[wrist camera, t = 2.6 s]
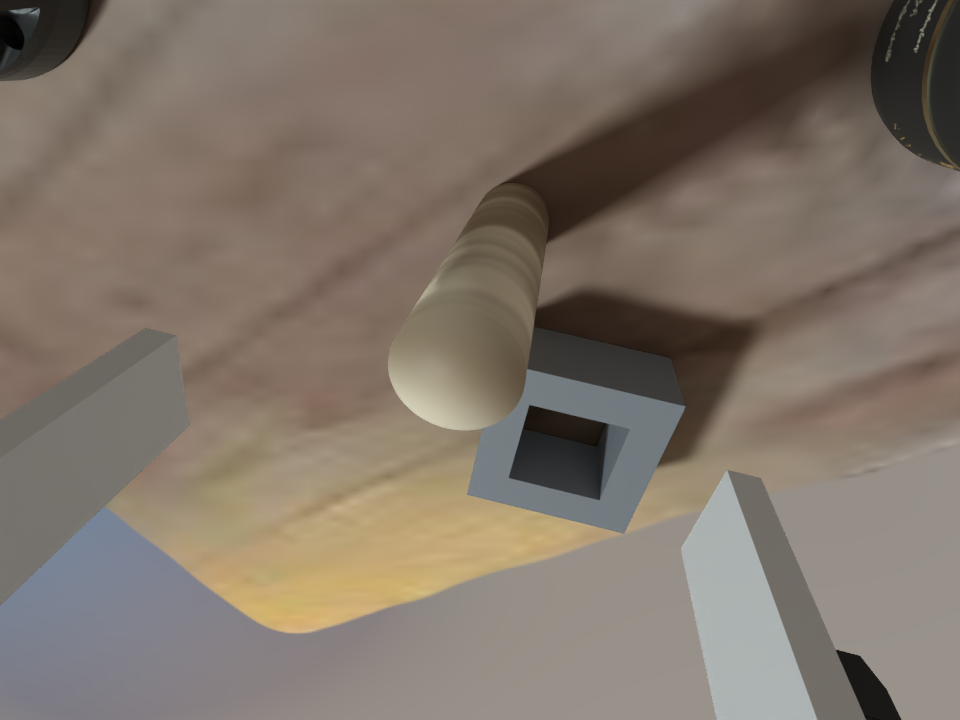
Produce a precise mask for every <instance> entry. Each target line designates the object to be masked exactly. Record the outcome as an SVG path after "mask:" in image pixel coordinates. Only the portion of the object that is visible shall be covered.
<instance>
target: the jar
mask: <svg viewBox="0 0 960 720" xmlns="http://www.w3.org/2000/svg"><path fill="white" fill-rule="evenodd" d="M871 86H872V94H873V99H874V102H875V106H876V108H877V111H878V113H879V115H880V117H881V119H882V121H883V122H884V124H885V125H886V127H887V128H888V129H889V131H890V132H891V133H892V135H893V136H894V137H895V138H896V139H897V140H898V141H899V142H900V143H901V144H902V145H903V146H904V147H905V148H907V149H908V150H909V151H911V152H912V153H914V154H916V155H917V156H919V157H921V158H923V159H925V160H927V161H930V162H932V163H935V164H938V165H941V166H944V167H947V168H951V169H954V170H957V171H960V0H895V1H894V2H893V4H892V6H891V8H890V10H889V12H888V14H887V16H886V18H885V20H884V22H883V25H882V27H881V30H880V32H879V35H878V38H877V41H876V45H875V49H874V54H873V59H872V67H871Z"/></svg>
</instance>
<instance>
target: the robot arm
mask: <svg viewBox="0 0 960 720" xmlns="http://www.w3.org/2000/svg"><path fill="white" fill-rule="evenodd" d="M89 2H90V0H0V81H13V80H24V79H29V78H34V77H37V76H40V75H42V74H44V73H46V72H48V71H50V70H52V69H53V68H55V67H56V66H57V65H58V64H60V63H61V62H62V61H63V60H64V59H65V58H66V57H67V56H68V54H69V53H70V52H71V50H72V49H73V48H74V46H75V44H76V42H77V41H78V39H79V37H80V34H81V32H82V30H83V27H84V24H85V21H86V17H87V13H88V8H89ZM189 425H190V424H189V417H188V411H187V404H186V398H185V391H184V384H183V378H182V371H181V364H180V358H179V351H178V344H177V338H176V335H172V334H168V333H164V332H160V331H156V330H152V329H147V328H145V329H143V330H142V331H140V332H139V333H137V334H136V335H134V336H132V337H131V338H129V339H128V340H126V341H124V342H123V343H121V344H120V345H118V346H116V347H115V348H113V349H112V350H110V351H109V352H107V353H105V354H104V355H102V356H101V357H99V358H97V359H96V360H94V361H93V362H91V363H89V364H88V365H86V366H85V367H83V368H82V369H80V370H78V371H77V372H75V373H74V374H72V375H70V376H69V377H67V378H66V379H64V380H62V381H61V382H59V383H58V384H56V385H55V386H53V387H51V388H50V389H48V390H47V391H45V392H43V393H42V394H40V395H39V396H37V397H36V398H34V399H32V400H31V401H29V402H28V403H26V404H24V405H23V406H21V407H20V408H18V409H16V410H15V411H13V412H12V413H10V414H9V415H7V416H5V417H4V418H2V419H1V420H0V605H1V604H2V603H3V602H4V601H5V600H6V599H8V598H9V597H10V596H11V595H12V594H13V593H14V592H15V591H16V590H17V589H18V588H19V587H20V586H21V585H22V584H23V583H24V582H25V581H26V580H28V579H29V578H30V577H31V576H32V575H33V574H34V573H35V572H36V571H37V570H38V569H39V568H40V567H41V566H42V565H43V564H44V563H45V562H46V561H47V560H48V559H50V558H51V557H52V556H53V555H54V554H55V553H56V552H57V551H58V550H59V549H60V548H61V547H62V546H63V545H64V544H65V543H66V542H67V541H68V540H70V539H71V538H72V536H74V535H75V534H76V533H77V532H78V531H79V530H80V529H81V528H82V527H83V526H84V525H85V524H86V523H87V522H88V521H89V520H91V519H92V518H93V517H94V516H95V515H96V514H97V513H98V512H99V511H100V510H101V509H102V508H103V507H104V506H105V505H106V504H107V503H108V502H109V501H111V500H112V499H113V498H114V497H115V496H116V495H117V494H118V493H119V492H120V491H121V490H122V489H123V488H124V487H125V486H126V485H127V484H128V483H129V482H131V481H132V480H133V479H134V478H135V477H136V476H137V475H138V474H139V473H140V472H141V471H142V470H143V469H144V468H145V467H146V466H147V465H148V464H149V463H150V462H152V461H153V460H154V459H155V458H156V457H157V456H158V455H159V454H160V453H161V452H162V451H163V450H164V449H165V448H166V447H167V446H168V445H169V444H170V443H171V442H173V441H174V440H175V439H176V438H177V437H178V436H179V435H180V434H181V433H182V432H183V431H184V430H185V429H186V428H187V427H188V426H189ZM681 552H682V556H683V562H684V566H685V571H686V576H687V580H688V585H689V590H690V595H691V599H692V604H693V609H694V613H695V619H696V623H697V628H698V633H699V638H700V643H701V647H702V652H703V657H704V661H705V666H706V671H707V676H708V681H709V685H710V690H711V695H712V700H713V704H714V709H715V714H716V719H717V720H901V718H900V716H899V714H898V712H897V710H896V708H895V706H894V704H893V702H892V700H891V697H890V695H889V693H888V691H887V689H886V688H885V687H884V686H883V684H882V683H881V682H880V681H879V679H878V678H877V677H876V676H875V674H874V673H873V672H872V671H871V669H870V668H869V667H868V666H867V664H866V663H865V662H864V660H863V659H862V658H861V657H860V656H858V655H854V654H850V653H846V652H843V651H839V650H835V648H834V645H833V643H832V641H831V638H830V636H829V634H828V631H827V629H826V627H825V625H824V622H823V620H822V618H821V615H820V613H819V611H818V608H817V606H816V604H815V601H814V599H813V597H812V595H811V592H810V590H809V588H808V585H807V583H806V581H805V578H804V576H803V574H802V572H801V569H800V567H799V565H798V562H797V560H796V558H795V556H794V553H793V551H792V549H791V546H790V544H789V542H788V539H787V537H786V535H785V532H784V530H783V528H782V526H781V523H780V521H779V519H778V516H777V514H776V512H775V509H774V507H773V505H772V503H771V500H770V498H769V496H768V493H767V491H766V489H765V486H764V484H763V482H762V480H761V478H758V477H754V476H750V475H746V474H742V473H738V472H733V471H729V470H727V471H726V473H725V474H724V476H723V478H722V479H721V481H720V483H719V485H718V486H717V488H716V490H715V491H714V493H713V495H712V497H711V498H710V500H709V502H708V503H707V505H706V507H705V509H704V510H703V512H702V514H701V516H700V517H699V519H698V521H697V522H696V524H695V526H694V527H693V529H692V531H691V533H690V534H689V536H688V538H687V540H686V541H685V543H684V545H683V546H682V548H681Z"/></svg>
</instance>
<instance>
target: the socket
mask: <svg viewBox="0 0 960 720" xmlns="http://www.w3.org/2000/svg"><path fill="white" fill-rule="evenodd" d="M529 405H532V406H536V407H540V408H544V409H549V410H553V411H557V412H561V413H565V414H570V415H574V416H578V417H582V418H586V419H591V420H595V421H599V422H603V423H606V424H605V427H604V429H603V432H602V434H601V437H600V439H599V442H598V445H597V446H593V445H588V444H584V443H580V442H576V441H572V440H568V439H563V438H559V437H555V436H551V435H547V434H543V433H539V432H534V431H530V430H526V429H523V425H524V422H525V418H526V415H527V411H528V408H529ZM685 407H686V405H685V402H684V399H683V396H682V393H681V389H680V386H679V383H678V380H677V377H676V373H675V370H674V367H673V364H672V361H671V358H668V357H663V356H659V355H655V354H651V353H646V352H642V351H638V350H633V349H629V348H625V347H620V346H616V345H612V344H607V343H603V342H599V341H595V340H590V339H586V338H582V337H577V336H573V335H569V334H564V333H560V332H556V331H552V330H547V329H543V328H539V327H534V328H533V334H532V341H531V348H530V354H529V361H528V368H527V374H526V381H525V387H524V391H523V394H522V397H521V399H520V401H519V403H518V405H517V406H516V407H515V409H514V410H513V411H512V412H511V413H510V414H509V415H508V416H507V417H505V418H504V419H503V420H501V421H499V422H498V423H496V424H494V425H491V426H488V427H485V428H482V433H481V437H480V441H479V446H478V450H477V454H476V459H475V463H474V467H473V472H472V476H471V480H470V485H469V489H468V493H467V495H470V496H475V497H479V498H483V499H487V500H491V501H495V502H499V503H503V504H507V505H511V506H515V507H519V508H523V509H527V510H531V511H535V512H539V513H543V514H547V515H551V516H555V517H559V518H563V519H567V520H571V521H576V522H580V523H584V524H588V525H592V526H596V527H600V528H604V529H608V530H612V531H616V532H620V533H625V531H626V529H627V527H628V525H629V522H630V520H631V518H632V516H633V514H634V512H635V510H636V508H637V506H638V504H639V502H640V500H641V498H642V496H643V494H644V492H645V490H646V488H647V485H648V483H649V481H650V479H651V477H652V475H653V473H654V471H655V469H656V467H657V465H658V463H659V461H660V459H661V457H662V455H663V453H664V451H665V448H666V446H667V444H668V442H669V440H670V438H671V436H672V434H673V432H674V430H675V428H676V426H677V424H678V422H679V420H680V418H681V416H682V414H683V411H684V409H685Z"/></svg>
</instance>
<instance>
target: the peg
mask: <svg viewBox="0 0 960 720" xmlns="http://www.w3.org/2000/svg"><path fill="white" fill-rule="evenodd" d="M548 229H549V212H548V208H547V205H546V203H545V201H544V200H543V198H542V197H541V196H540V195H539V194H538V193H537V192H536V191H535V190H534V189H532V188H530V187H528V186H526V185H523V184H519V183H506V184H502V185H499V186H497V187H495V188H493V189H492V190H491V191H489V192H488V193H487V194H486V195H485V196H484V198H483V199H482V201H481V202H480V204H479V205H478V207H477V209H476V210H475V212H474V213H473V215H472V217H471V218H470V220H469V221H468V223H467V225H466V226H465V228H464V229H463V231H462V232H461V234H460V236H459V237H458V239H457V240H456V242H455V244H454V245H453V247H452V248H451V250H450V252H449V253H448V255H447V256H446V258H445V259H444V261H443V263H442V264H441V266H440V267H439V269H438V271H437V272H436V274H435V275H434V277H433V279H432V280H431V282H430V283H429V285H428V287H427V288H426V290H425V291H424V293H423V294H422V296H421V298H420V299H419V301H418V302H417V304H416V306H415V307H414V309H413V310H412V312H411V314H410V315H409V317H408V318H407V320H406V321H405V323H404V325H403V326H402V328H401V329H400V331H399V333H398V334H397V336H396V337H395V339H394V341H393V343H392V345H391V348H390V351H389V357H388V370H389V376H390V380H391V383H392V385H393V387H394V389H395V391H396V393H397V395H398V396H399V397H400V399H401V400H402V401H403V403H404V404H405V405H406V406H407V407H408V408H409V409H410V410H411V411H413V412H414V413H415V414H416V415H418V416H419V417H421V418H422V419H424V420H426V421H428V422H430V423H432V424H435V425H437V426H440V427H444V428H448V429H453V430H476V429H481V428H485V427H488V426H491V425H494V424H496V423H498V422H499V421H501V420H503V419H504V418H505V417H507V416H508V415H509V414H510V413H511V412H512V411H513V410H514V409H515V407H516V406H517V405H518V403H519V401H520V399H521V397H522V394H523V391H524V387H525V381H526V374H527V368H528V361H529V354H530V348H531V341H532V334H533V328H534V321H535V315H536V308H537V301H538V295H539V288H540V281H541V275H542V268H543V262H544V255H545V248H546V242H547V235H548Z"/></svg>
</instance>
